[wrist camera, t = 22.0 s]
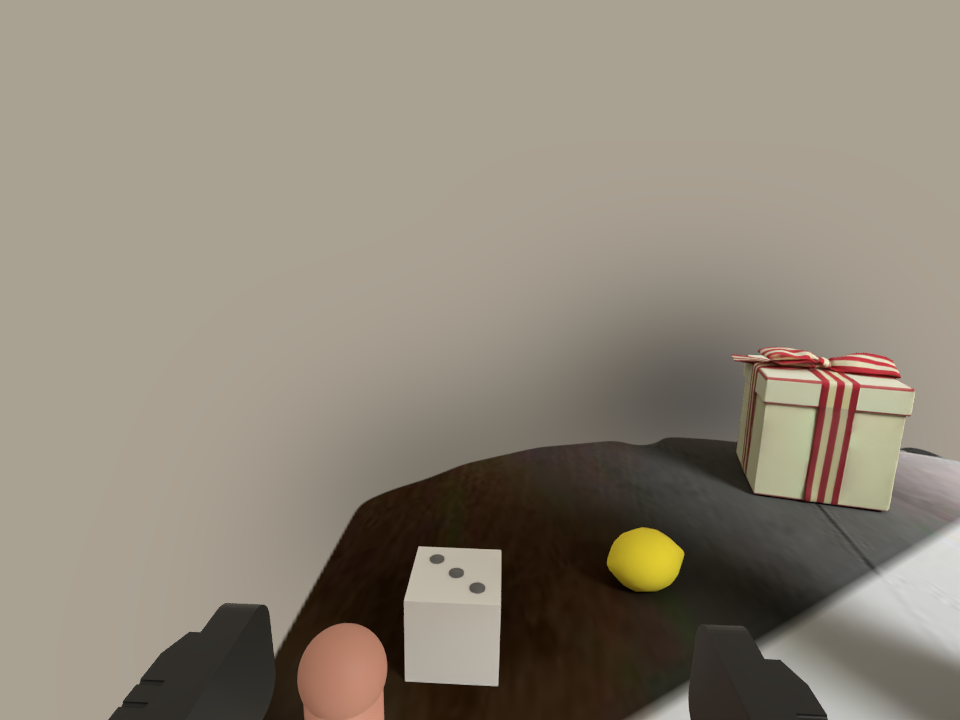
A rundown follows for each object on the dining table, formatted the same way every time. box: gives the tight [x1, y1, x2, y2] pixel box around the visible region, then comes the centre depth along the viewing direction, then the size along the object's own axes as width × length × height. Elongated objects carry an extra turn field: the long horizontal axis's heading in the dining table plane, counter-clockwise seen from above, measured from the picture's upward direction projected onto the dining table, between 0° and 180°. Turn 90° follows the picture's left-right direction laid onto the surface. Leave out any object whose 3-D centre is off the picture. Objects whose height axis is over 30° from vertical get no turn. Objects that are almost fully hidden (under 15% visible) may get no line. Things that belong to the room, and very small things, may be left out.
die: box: [404, 547, 501, 686], centre depth 40 cm, size 6×6×7 cm
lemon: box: [607, 527, 684, 592], centre depth 48 cm, size 7×5×5 cm
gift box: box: [732, 347, 915, 511], centre depth 71 cm, size 17×18×17 cm
